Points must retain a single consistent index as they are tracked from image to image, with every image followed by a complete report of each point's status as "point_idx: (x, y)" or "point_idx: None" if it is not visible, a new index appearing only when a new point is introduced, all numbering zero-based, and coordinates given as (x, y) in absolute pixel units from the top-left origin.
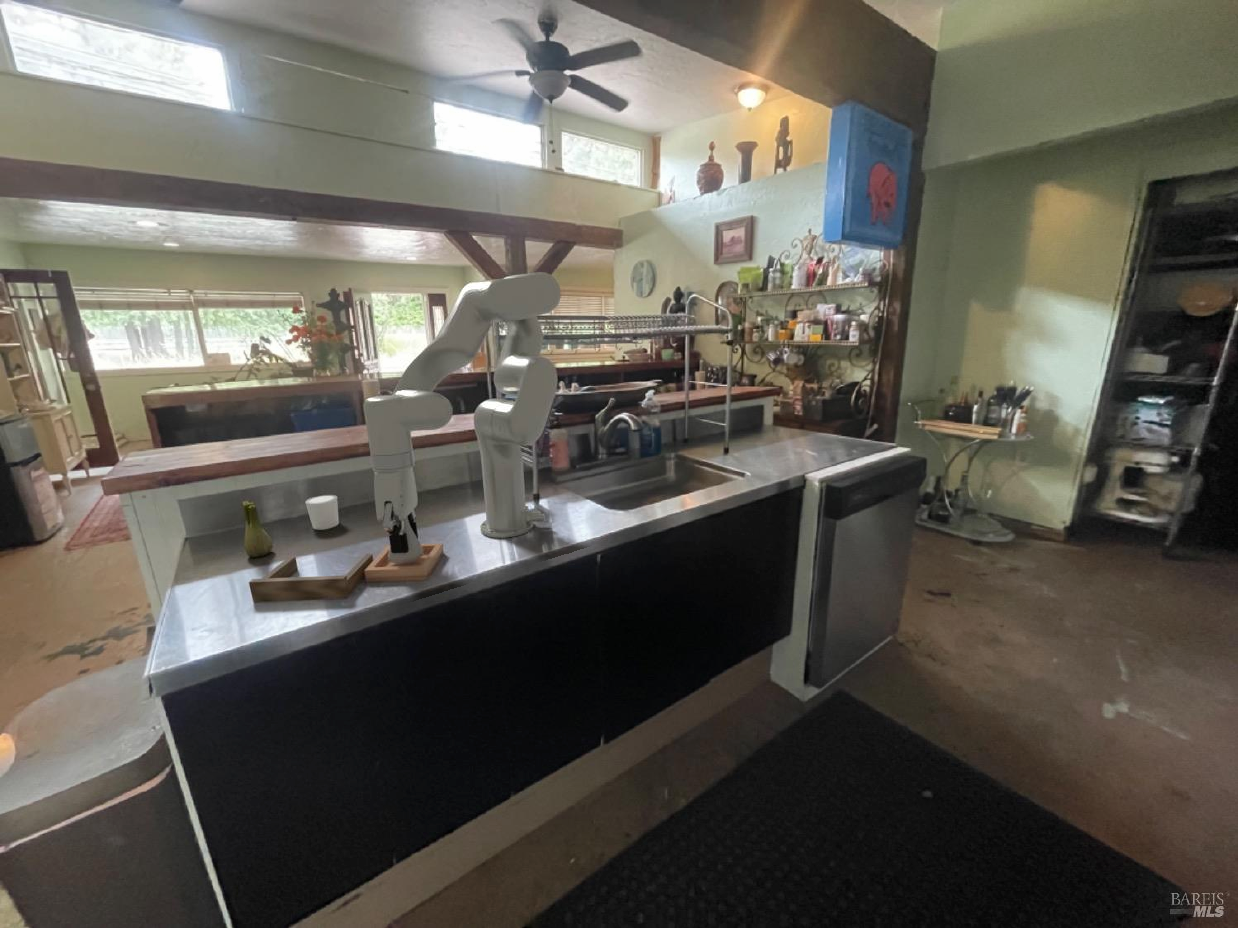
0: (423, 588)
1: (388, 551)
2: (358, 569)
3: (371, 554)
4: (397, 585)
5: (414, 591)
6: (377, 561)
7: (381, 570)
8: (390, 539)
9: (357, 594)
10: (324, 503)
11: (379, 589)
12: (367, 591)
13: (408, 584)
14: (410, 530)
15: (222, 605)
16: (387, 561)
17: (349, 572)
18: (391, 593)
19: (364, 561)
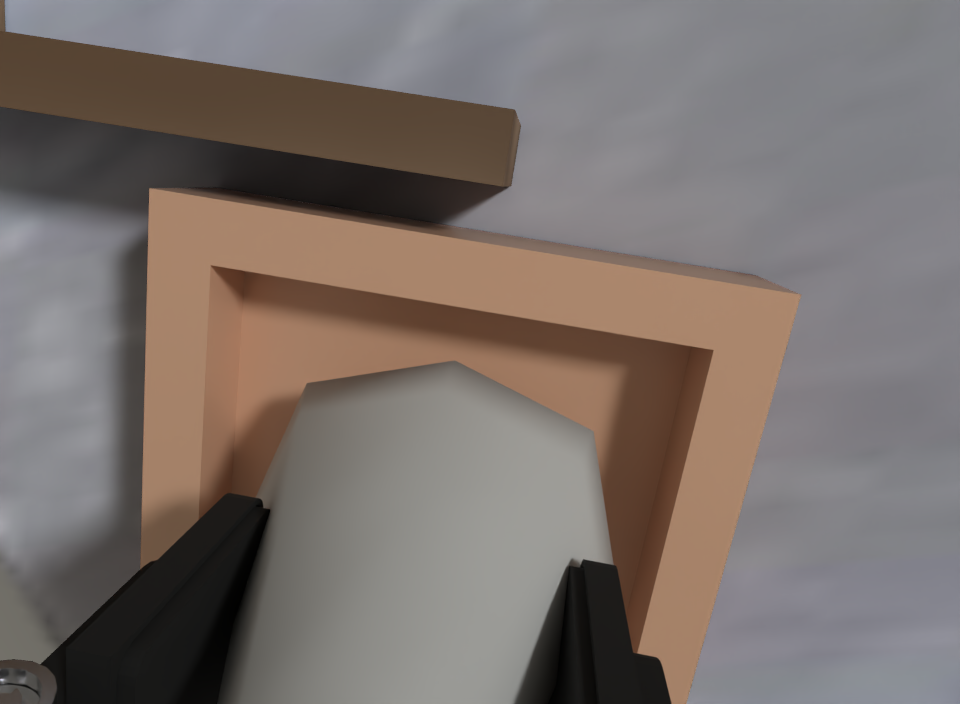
0: (72, 625)
1: (619, 331)
2: (134, 126)
3: (489, 179)
4: (133, 449)
5: (36, 574)
6: (346, 275)
7: (151, 354)
8: (127, 603)
9: (16, 169)
10: None
11: (82, 327)
12: (58, 239)
13: (140, 524)
14: None
15: None
16: (306, 386)
17: (45, 49)
18: (17, 427)
19: (298, 146)
